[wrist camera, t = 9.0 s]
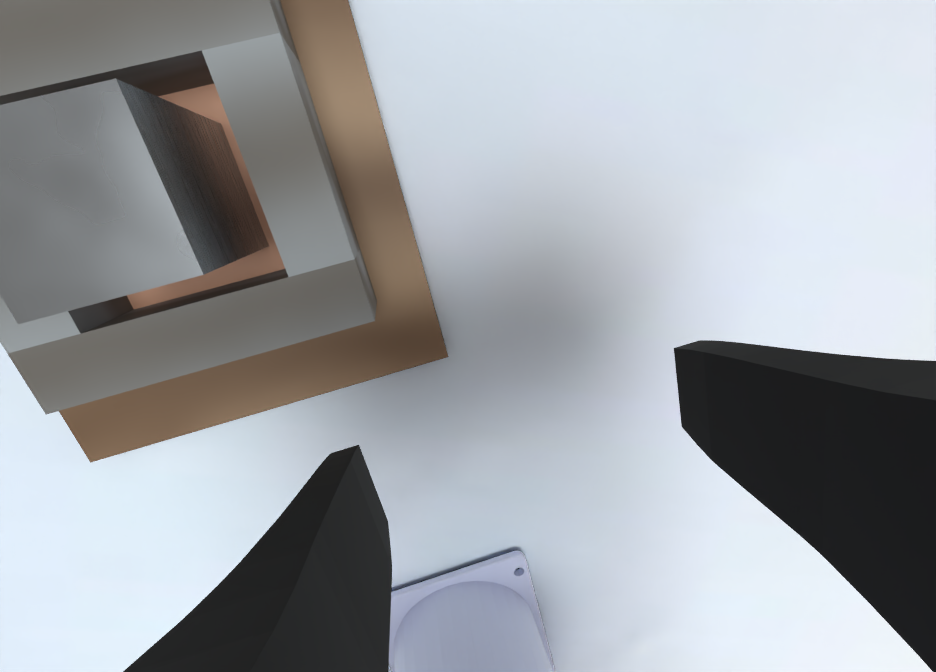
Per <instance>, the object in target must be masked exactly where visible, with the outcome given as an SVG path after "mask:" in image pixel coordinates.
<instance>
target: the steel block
mask: <svg viewBox="0 0 936 672" xmlns="http://www.w3.org/2000/svg"><path fill="white" fill-rule="evenodd" d="M266 247H269V245H268V242H267V240H266V237H265V234H264V232H263V229H262V227H261V224H260V222H259V219H258V217H257V214H256V211H255V209H254V206H253V204H252V201H251V199H250V196H249V194H248V191H247V188H246V186H245V183H244V181H243V178H242V176H241V173H240V170H239V168H238V165H237V163H236V160H235V158H234V155H233V153H232V150H231V147H230V145H229V142H228V140H227V137H226V135H225V132H224V130H223V127H222V124H221V123H218V122H216V121H214V120H211V119H209V118H207V117H204V116H202V115H200V114H197V113H195V112H193V111H190V110H188V109H186V108H183V107H181V106H179V105H176V104H174V103H172V102H169V101H167V100H165V99H162V98H160V97H158V96H155V95H153V94H151V93H148V92H146V91H144V90H141V89H139V88H137V87H134V86H132V85H130V84H127V83H125V82H123V81H120V80H118V79H112V80H107V81H103V82H98V83H94V84H90V85H85V86H81V87H77V88H72V89H68V90H63V91H59V92H55V93H50V94H46V95H42V96H37V97H33V98H29V99H24V100H20V101H15V102H11V103H7V104H2V105H0V295H1V297H2V299H3V300H4V302H5V303H6V305H7V307H8V308H9V310H10V312H11V313H12V315H13V317H14V318H15V320H16V322H17V323H18V324H22V323H26V322H29V321H33V320H37V319H40V318H44V317H48V316H52V315H55V314H59V313H63V312H67V311H70V310H74V309H78V308H81V307H85V306H89V305H93V304H96V303H100V302H104V301H108V300H111V299H115V298H119V297H123V296H126V295H130V294H134V293H137V292H141V291H145V290H149V289H152V288H156V287H160V286H164V285H167V284H171V283H175V282H178V281H182V280H186V279H190V278H193V277H197V276H201V275H204V274H207V273H209V272H211V271H213V270H216V269H218V268H220V267H223V266H225V265H227V264H230V263H232V262H234V261H236V260H239V259H241V258H243V257H246V256H248V255H250V254H252V253H255V252H257V251H259V250H262V249H264V248H266Z"/></svg>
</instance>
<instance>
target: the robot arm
mask: <svg viewBox="0 0 936 672" xmlns="http://www.w3.org/2000/svg"><path fill="white" fill-rule="evenodd" d="M674 354H675V363H676V373H677V383H678V393H679V403H680V413H681V423H682V427H683V429H684V430H685V431H686V432H687V433H688V434H689V436H690V437H691V438H692V439H693V440H694V441H695V443H696V444H697V445H698V446H699V447H700V448H701V449H702V450H703V451H704V452H705V453H706V455H707V456H708V457H709V458H710V459H711V460H712V461H713V462H714V463H715V464H717V465H718V466H719V467H720V468H721V469H722V470H723V471H725V472H726V473H727V474H728V475H729V476H730V477H732V478H733V479H734V480H735V481H736V482H737V483H739V484H740V485H741V486H742V487H743V488H744V489H746V490H747V491H748V492H749V493H750V494H752V495H753V496H754V497H755V498H756V499H758V500H759V501H760V502H761V503H762V504H763V505H765V506H766V507H767V508H768V509H769V510H771V511H772V512H773V513H774V514H775V515H777V516H778V517H779V518H780V519H781V520H782V521H784V522H785V523H786V524H787V525H788V526H790V527H791V528H792V529H793V530H794V531H796V532H797V533H798V534H799V535H800V536H801V537H803V538H804V539H805V540H806V541H807V542H808V543H809V544H810V545H811V546H812V547H814V548H815V549H816V550H817V551H818V552H819V553H820V554H821V555H822V556H823V557H824V558H825V559H826V560H827V561H828V562H829V563H830V564H831V565H832V566H833V567H834V568H835V569H836V570H837V571H838V572H839V573H840V574H841V575H842V576H843V577H844V578H845V579H846V580H847V581H848V582H849V583H850V584H851V585H852V586H853V587H854V588H855V589H856V590H857V591H858V592H859V593H860V594H861V595H862V596H863V597H864V598H865V599H866V600H867V601H868V602H869V603H870V604H871V605H872V606H873V607H874V608H875V609H876V611H877V612H878V613H879V614H880V615H881V616H882V617H883V618H884V619H885V620H886V621H887V622H888V623H889V624H890V625H891V627H892V628H893V629H894V630H895V631H896V632H897V633H898V634H899V635H900V636H901V637H902V638H903V639H904V640H905V641H906V643H907V644H908V645H909V646H910V647H911V648H912V649H913V650H914V651H915V652H916V653H917V654H918V655H919V656H920V657H921V659H922V660H923V661H924V662H925V663H926V664H927V665H928V667H929V668H930V669H931V670H932V671H933V672H936V361H921V360H900V359H885V358H873V357H861V356H850V355H839V354H829V353H820V352H811V351H803V350H794V349H786V348H778V347H770V346H762V345H753V344H745V343H736V342H725V341H696V342H693V343H690V344H686V345H683V346H680V347H677V348H674ZM520 567H521V568H520ZM517 568H520V569H518V570H515V569H517ZM391 584H392V560H391V548H390V538H389V528H388V521H387V518H386V515H385V513H384V510H383V507H382V505H381V502H380V499H379V497H378V494H377V491H376V489H375V486H374V484H373V481H372V478H371V476H370V473H369V470H368V468H367V465H366V462H365V460H364V457H363V455H362V452H361V449H360V447H359V445H357V446H354V447H350V448H347V449H344V450H341V451H337V452H334V453H331V454H330V455H329V456H328V457H327V458H326V459H325V460H324V461H323V463H322V464H321V465H320V466H319V467H318V469H317V470H316V471H315V473H314V474H313V475H312V476H311V478H310V479H309V480H308V482H307V483H306V484H305V485H304V487H303V488H302V489H301V490H300V492H299V493H298V494H297V496H296V497H295V498H294V499H293V501H292V502H291V503H290V504H289V506H288V507H287V508H286V509H285V511H284V512H283V513H282V514H281V516H280V517H279V518H278V519H277V520H276V522H275V523H274V524H273V525H272V526H271V527H270V528H269V530H268V531H267V532H266V533H265V534H264V535H263V537H262V538H261V539H260V540H259V541H258V542H257V543H256V545H255V546H254V547H253V548H252V549H251V550H250V552H249V553H248V554H247V555H246V556H245V557H244V558H243V560H242V561H241V562H240V563H239V564H238V565H237V566H236V567H235V568H234V569H233V570H232V571H231V572H230V573H229V574H228V575H227V577H226V578H225V579H224V580H223V581H222V582H221V583H220V584H219V585H218V586H217V587H216V588H215V589H214V590H213V591H212V592H211V593H210V594H209V595H208V596H207V597H206V598H204V599H203V600H202V601H201V602H200V603H199V604H198V605H197V606H196V607H195V608H194V609H193V610H192V611H191V612H190V613H189V614H188V615H187V616H186V617H185V618H184V619H183V620H182V621H180V622H179V623H178V624H177V625H176V626H175V627H174V628H173V629H171V630H170V631H169V632H168V633H167V634H166V635H165V636H163V637H162V638H161V639H160V640H159V641H158V642H157V643H155V644H154V645H153V646H152V647H151V648H150V649H149V650H147V651H146V652H145V653H144V654H143V655H142V656H141V657H139V658H138V659H137V660H136V661H135V662H134V663H133V664H131V665H130V666H129V667H128V668H127V669H126V670H125V671H123V672H388V667H389V665H390V667H391V669H392V672H555V668H554V664H553V660H552V656H551V652H550V649H549V645H548V641H547V637H546V633H545V629H544V626H543V622H542V618H541V614H540V610H539V606H538V603H537V599H536V595H535V591H534V587H533V584H532V580H531V576H530V572H529V568H528V564H527V561H526V558H525V555H524V554H523V552H521V551H512V552H509V553H506V554H503V555H500V556H497V557H494V558H491V559H488V560H485V561H482V562H479V563H476V564H473V565H470V566H467V567H464V568H461V569H458V570H456V571H453V572H450V573H447V574H444V575H441V576H438V577H435V578H432V579H429V580H426V581H423V582H420V583H417V584H414V585H411V586H408V587H405V588H402V589H399V590H396V591H393V592H391Z"/></svg>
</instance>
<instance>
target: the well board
mask: <svg viewBox="0 0 936 672" xmlns="http://www.w3.org/2000/svg"><path fill="white" fill-rule="evenodd" d="M112 79H118V80H120V81H123V82H125V83H127V84H130V85H132V86H134V87H137V88H139V89H141V90H144V91H146V92H148V93H151V94H153V95H155V96H158V97H160V98H162V99H165V100H167V101H169V102H172V103H174V104H176V105H179V106H181V107H183V108H186V109H188V110H190V111H193V112H195V113H197V114H200V115H202V116H204V117H207V118H209V119H211V120H214V121H216V122H218V123H221V124H222V127H223V130H224V132H225V135H226V137H227V140H228V142H229V145H230V147H231V150H232V153H233V155H234V158H235V160H236V163H237V165H238V168H239V170H240V173H241V176H242V178H243V181H244V183H245V186H246V188H247V191H248V194H249V196H250V199H251V201H252V204H253V206H254V209H255V211H256V214H257V217H258V219H259V222H260V224H261V227H262V229H263V232H264V234H265V237H266V240H267V242H268V245H269V247H266V248H264V249H262V250H259V251H257V252H255V253H252V254H250V255H248V256H246V257H243V258H241V259H239V260H236V261H234V262H232V263H230V264H227V265H225V266H223V267H220V268H218V269H216V270H213V271H211V272H209V273H207V274H204V275H201V276H197V277H193V278H190V279H186V280H182V281H178V282H175V283H171V284H167V285H164V286H160V287H156V288H152V289H149V290H145V291H141V292H137V293H134V294H130V295H126V296H123V297H119V298H115V299H111V300H108V301H104V302H100V303H96V304H93V305H89V306H85V307H81V308H78V309H74V310H70V311H67V312H63V313H59V314H55V315H52V316H48V317H44V318H40V319H37V320H33V321H29V322H26V323H22V324H18V323H17V322H16V320H15V318H14V317H13V315H12V313H11V312H10V310H9V308H8V307H7V305H6V303H5V302H4V300H3V299H2V297H1V295H0V342H1V344H2V345H3V347H4V349H5V350H6V352H7V353H8V355H9V357H10V358H11V360H12V361H13V363H14V364H15V366H16V368H17V369H18V371H19V372H20V374H21V376H22V377H23V379H24V380H25V382H26V384H27V385H28V387H29V388H30V390H31V391H32V393H33V395H34V396H35V398H36V399H37V401H38V403H39V404H40V406H41V407H42V409H43V410H44V412H45V414H49V413H53V412H56V411H59V412H60V414H61V415H62V417H63V419H64V420H65V422H66V423H67V425H68V427H69V428H70V430H71V431H72V433H73V435H74V436H75V438H76V440H77V441H78V443H79V444H80V446H81V448H82V449H83V451H84V453H85V454H86V456H87V457H88V459H89V461H90V462H93V461H97V460H100V459H104V458H107V457H110V456H114V455H117V454H121V453H124V452H127V451H131V450H134V449H137V448H141V447H144V446H148V445H151V444H154V443H158V442H161V441H165V440H168V439H171V438H175V437H178V436H182V435H185V434H188V433H192V432H195V431H199V430H202V429H205V428H209V427H212V426H215V425H219V424H222V423H226V422H229V421H232V420H236V419H239V418H243V417H246V416H249V415H253V414H256V413H260V412H263V411H266V410H270V409H273V408H276V407H280V406H283V405H287V404H290V403H293V402H297V401H300V400H304V399H307V398H310V397H314V396H317V395H321V394H324V393H327V392H331V391H334V390H338V389H341V388H344V387H348V386H351V385H354V384H358V383H361V382H365V381H368V380H371V379H375V378H378V377H382V376H385V375H388V374H392V373H395V372H399V371H402V370H405V369H409V368H412V367H416V366H419V365H422V364H426V363H429V362H432V361H436V360H439V359H443V358H446V357H448V354H447V351H446V347H445V344H444V340H443V337H442V333H441V329H440V326H439V322H438V319H437V315H436V312H435V308H434V305H433V301H432V297H431V294H430V290H429V287H428V283H427V280H426V276H425V272H424V269H423V265H422V262H421V258H420V255H419V251H418V248H417V244H416V240H415V237H414V233H413V230H412V226H411V223H410V219H409V216H408V212H407V208H406V205H405V201H404V198H403V194H402V191H401V187H400V184H399V180H398V176H397V173H396V169H395V166H394V162H393V159H392V155H391V152H390V148H389V144H388V141H387V137H386V134H385V130H384V127H383V123H382V120H381V116H380V112H379V109H378V105H377V102H376V98H375V95H374V91H373V88H372V84H371V80H370V77H369V73H368V70H367V66H366V63H365V59H364V56H363V52H362V48H361V45H360V41H359V38H358V34H357V31H356V27H355V24H354V20H353V16H352V13H351V9H350V6H349V2H348V0H0V105H2V104H7V103H11V102H15V101H20V100H24V99H29V98H33V97H37V96H42V95H46V94H50V93H55V92H59V91H63V90H68V89H72V88H77V87H81V86H85V85H90V84H94V83H98V82H103V81H107V80H112Z"/></svg>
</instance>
